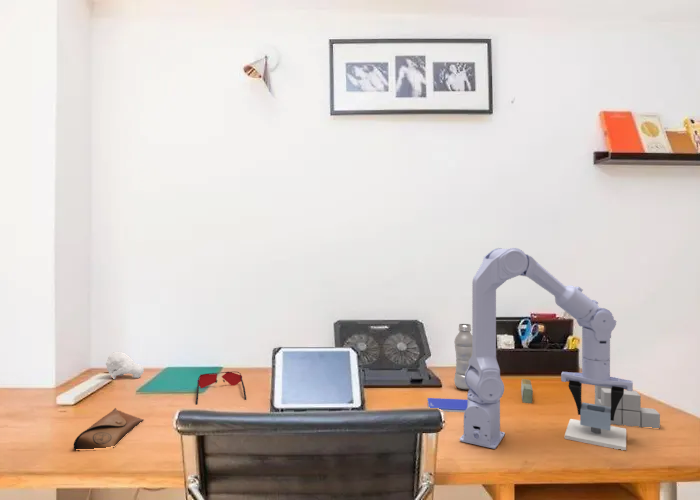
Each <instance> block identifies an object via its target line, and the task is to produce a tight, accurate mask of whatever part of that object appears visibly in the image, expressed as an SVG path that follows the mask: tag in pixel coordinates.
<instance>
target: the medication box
mask: <svg viewBox="0 0 700 500" xmlns="http://www.w3.org/2000/svg"><path fill="white" fill-rule="evenodd" d="M520 383H521V386H520V391H521V401H522V403H525V404H533V397H534V396H533V393H534V390H533V385H532V381H531V379H528V378H527V379H525V378H521V382H520Z"/></svg>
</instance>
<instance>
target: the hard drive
mask: <svg viewBox="0 0 700 500" xmlns="http://www.w3.org/2000/svg"><path fill="white" fill-rule="evenodd" d="M426 401H428V402H427V405H428V408H429V407H430V408H439V409H441V410H443V411H445V413H464V412H465V410H466V409H467V399H463V398H462V399H461V398H460V399H459V398H441V397H440V398H434V397H427V400H426ZM443 411H442V412H443ZM446 411H447V412H446Z"/></svg>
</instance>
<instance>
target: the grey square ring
mask: <svg viewBox="0 0 700 500" xmlns="http://www.w3.org/2000/svg"><path fill="white" fill-rule="evenodd" d="M579 416H580V417H579V418H580V419H579V420H580V425H584V426H589V427H594V428H599V429H604V430H610V427H611V426H612V424H611V407H607V406H601V405H595V403H589V402H588V403H587V402H583V401H582V406H581V410H580V415H579Z"/></svg>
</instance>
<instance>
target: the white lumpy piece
mask: <svg viewBox="0 0 700 500" xmlns="http://www.w3.org/2000/svg"><path fill="white" fill-rule="evenodd" d="M105 365H106V369H107V371H108V375H109V374H110V375H112V377H113V379H114V380H116V377H117V376H118V377H122V376H124V375H128V374H131V377H132V379H139V378H140V377H141V375H143V374H144V370H145V368H144V366H143V365H141V364H139V363H136V362H135V361H134V359H132V358H131V356H129V355H127V353H125V352H122V351H115V352H112V353H111V354H110V355H109V356H108V357H107V361H106V363H105ZM110 375H109V376H110Z"/></svg>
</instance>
